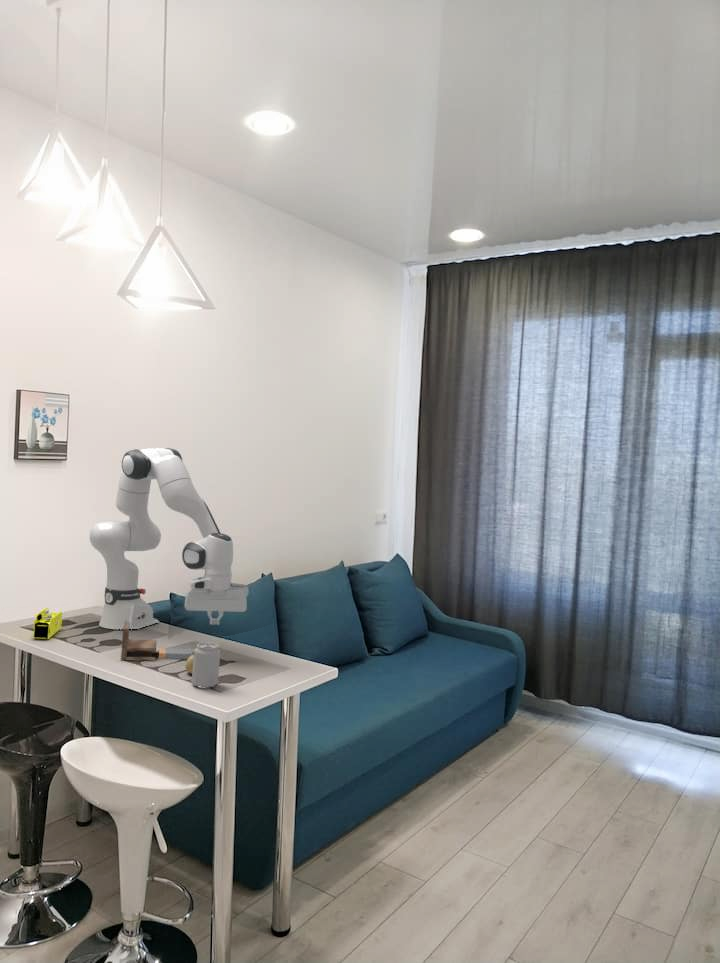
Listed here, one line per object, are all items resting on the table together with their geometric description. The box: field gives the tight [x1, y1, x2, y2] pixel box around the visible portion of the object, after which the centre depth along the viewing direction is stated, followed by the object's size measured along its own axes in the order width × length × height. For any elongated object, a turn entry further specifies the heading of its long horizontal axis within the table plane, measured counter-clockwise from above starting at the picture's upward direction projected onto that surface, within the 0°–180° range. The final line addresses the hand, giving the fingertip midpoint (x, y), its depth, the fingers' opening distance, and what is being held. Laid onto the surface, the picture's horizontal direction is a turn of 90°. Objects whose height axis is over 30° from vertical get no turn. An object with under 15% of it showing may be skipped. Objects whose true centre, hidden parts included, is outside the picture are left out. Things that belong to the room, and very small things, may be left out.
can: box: [191, 642, 221, 687], centre depth 218 cm, size 8×8×12 cm
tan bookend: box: [120, 621, 158, 661], centre depth 242 cm, size 10×10×10 cm
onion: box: [185, 651, 194, 675], centre depth 229 cm, size 8×8×7 cm
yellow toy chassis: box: [32, 607, 63, 640], centre depth 258 cm, size 16×6×8 cm, turn 7°
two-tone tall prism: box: [158, 647, 196, 660], centre depth 245 cm, size 12×6×2 cm, turn 104°
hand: (214, 624), depth 247 cm, fingers closed
